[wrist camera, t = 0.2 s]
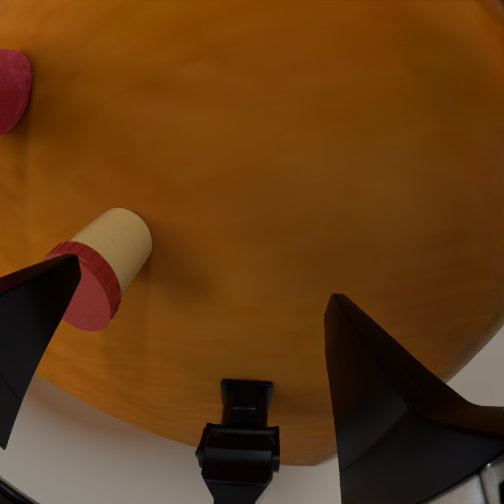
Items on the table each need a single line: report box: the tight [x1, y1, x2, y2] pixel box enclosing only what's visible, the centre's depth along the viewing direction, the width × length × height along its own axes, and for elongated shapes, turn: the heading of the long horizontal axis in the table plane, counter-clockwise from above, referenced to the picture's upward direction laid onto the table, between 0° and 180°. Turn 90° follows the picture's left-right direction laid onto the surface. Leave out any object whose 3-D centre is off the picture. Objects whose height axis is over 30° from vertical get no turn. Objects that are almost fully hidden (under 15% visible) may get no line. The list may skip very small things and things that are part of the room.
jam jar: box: [68, 208, 152, 297], centre depth 21 cm, size 6×6×9 cm
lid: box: [41, 241, 121, 331], centre depth 17 cm, size 7×7×2 cm
